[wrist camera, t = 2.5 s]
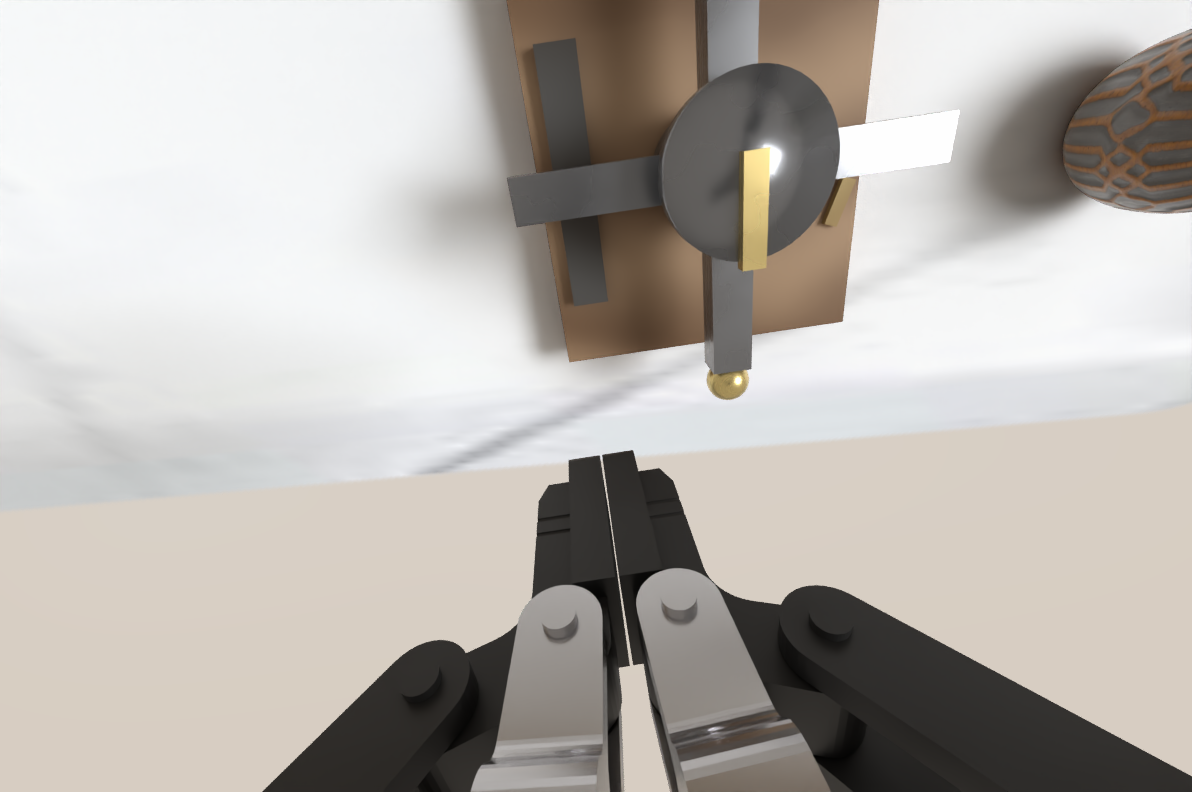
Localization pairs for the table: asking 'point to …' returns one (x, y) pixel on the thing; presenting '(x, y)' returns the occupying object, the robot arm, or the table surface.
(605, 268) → the stand
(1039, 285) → the table surface
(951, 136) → the capstan
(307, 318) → the table surface
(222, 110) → the table surface
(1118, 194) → the vase
